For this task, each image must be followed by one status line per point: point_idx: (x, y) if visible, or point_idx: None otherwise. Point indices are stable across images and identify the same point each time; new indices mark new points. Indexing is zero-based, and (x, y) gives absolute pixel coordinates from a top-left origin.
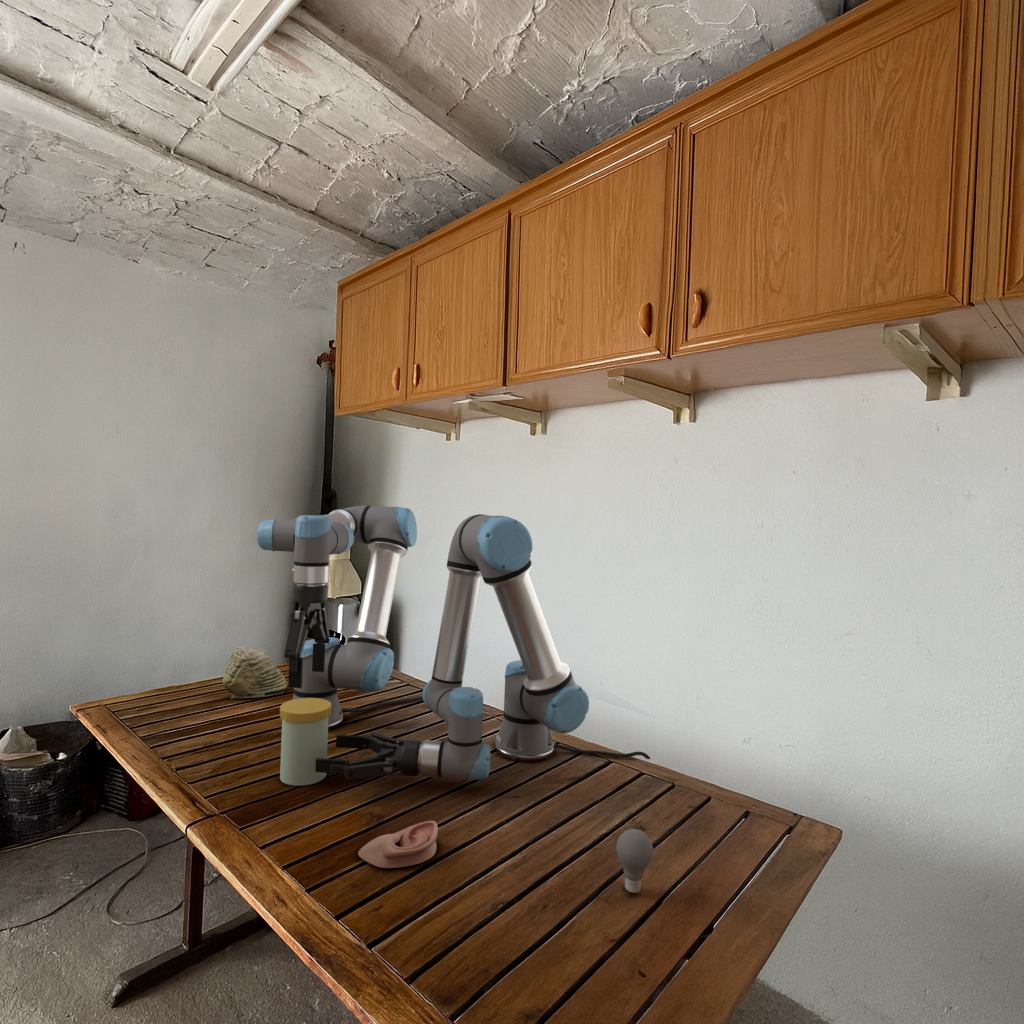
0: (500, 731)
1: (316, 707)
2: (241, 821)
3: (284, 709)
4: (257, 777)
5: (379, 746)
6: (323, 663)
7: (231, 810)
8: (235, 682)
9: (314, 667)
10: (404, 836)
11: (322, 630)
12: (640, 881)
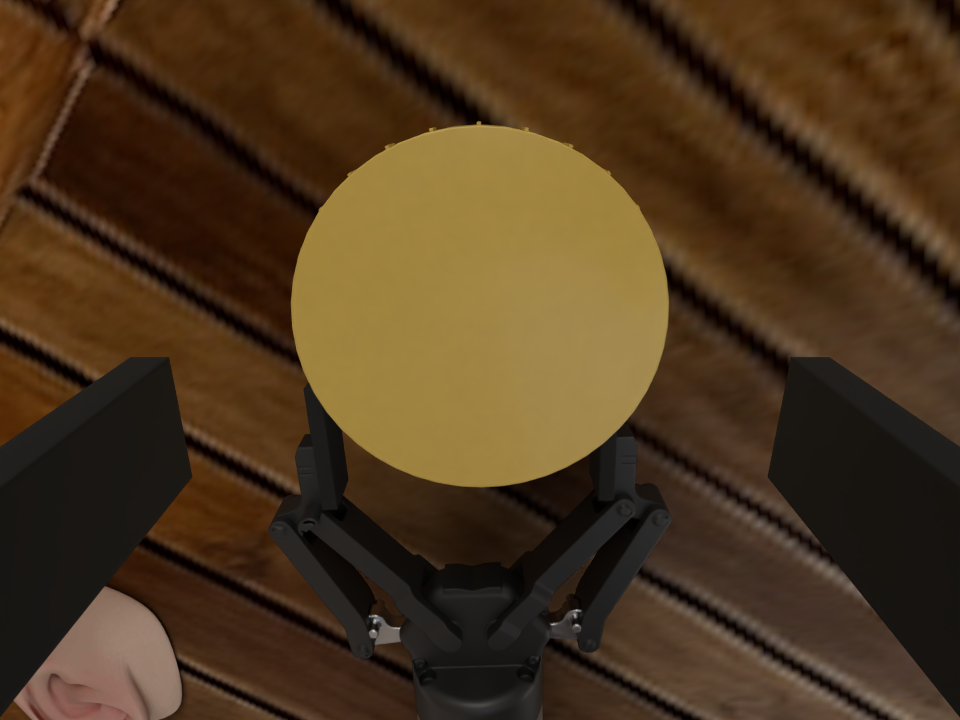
0: None
1: (451, 412)
2: (69, 165)
3: (347, 207)
4: (426, 31)
5: (542, 565)
6: (817, 538)
7: (124, 79)
8: None
9: (810, 404)
10: (84, 692)
11: None
12: None
